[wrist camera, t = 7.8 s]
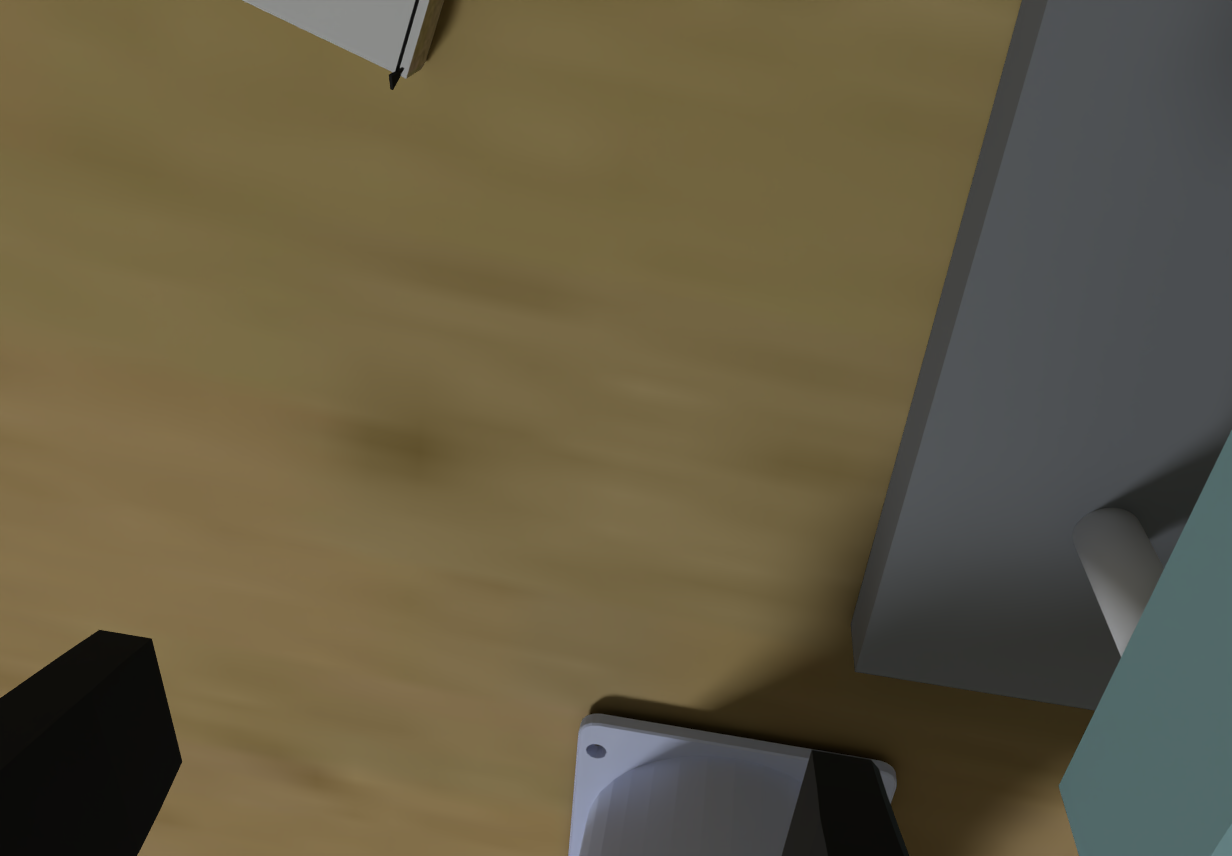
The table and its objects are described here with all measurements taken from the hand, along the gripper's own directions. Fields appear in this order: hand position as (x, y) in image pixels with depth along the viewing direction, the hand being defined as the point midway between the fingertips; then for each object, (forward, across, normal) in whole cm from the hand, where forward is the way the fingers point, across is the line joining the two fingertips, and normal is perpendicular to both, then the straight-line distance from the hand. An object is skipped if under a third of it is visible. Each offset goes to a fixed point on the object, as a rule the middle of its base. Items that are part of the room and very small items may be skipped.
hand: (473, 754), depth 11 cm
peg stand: (+10, -11, -2) cm, 15 cm away
